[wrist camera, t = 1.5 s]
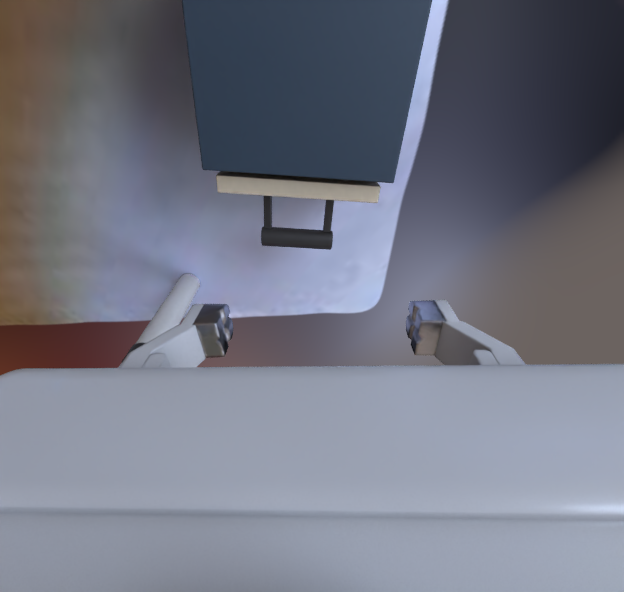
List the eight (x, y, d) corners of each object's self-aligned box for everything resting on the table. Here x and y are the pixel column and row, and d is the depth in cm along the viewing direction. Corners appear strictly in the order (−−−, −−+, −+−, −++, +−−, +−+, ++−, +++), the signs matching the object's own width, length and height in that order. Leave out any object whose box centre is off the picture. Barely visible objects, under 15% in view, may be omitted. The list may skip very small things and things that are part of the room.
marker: (174, 280, 36) (114, 366, 25) (188, 268, 35) (133, 351, 24) (191, 294, 38) (141, 382, 26) (205, 283, 37) (161, 370, 25)
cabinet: (369, 156, 29) (393, 183, 21) (232, 146, 28) (202, 170, 20) (408, -81, 21) (472, -190, 13) (215, -103, 20) (152, -232, 12)
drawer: (354, 227, 32) (366, 263, 25) (241, 220, 31) (223, 255, 25) (393, -26, 21) (430, -75, 15) (225, -43, 21) (188, -102, 14)
